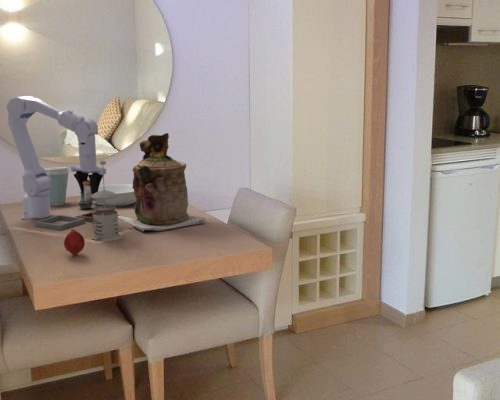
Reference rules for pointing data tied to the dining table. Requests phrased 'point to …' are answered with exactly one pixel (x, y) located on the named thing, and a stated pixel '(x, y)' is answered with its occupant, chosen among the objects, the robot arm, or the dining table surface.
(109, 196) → the french press
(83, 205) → the grey tiered figure
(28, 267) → the dining table surface
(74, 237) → the onion
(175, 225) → the cookie jar
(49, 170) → the disposable coffee cup
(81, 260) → the dining table surface
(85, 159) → the robot arm
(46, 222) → the tray
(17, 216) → the dining table surface
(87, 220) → the board
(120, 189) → the serving bowl
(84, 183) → the pin
